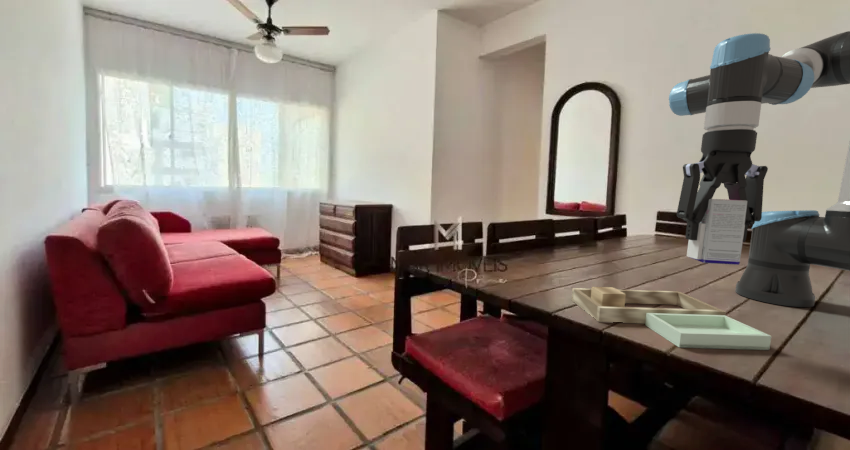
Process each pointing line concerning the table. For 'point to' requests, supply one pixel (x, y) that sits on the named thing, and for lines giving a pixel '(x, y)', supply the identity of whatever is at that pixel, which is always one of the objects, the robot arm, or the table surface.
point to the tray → (707, 331)
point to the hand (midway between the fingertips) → (712, 258)
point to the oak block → (608, 296)
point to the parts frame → (643, 297)
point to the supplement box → (723, 231)
